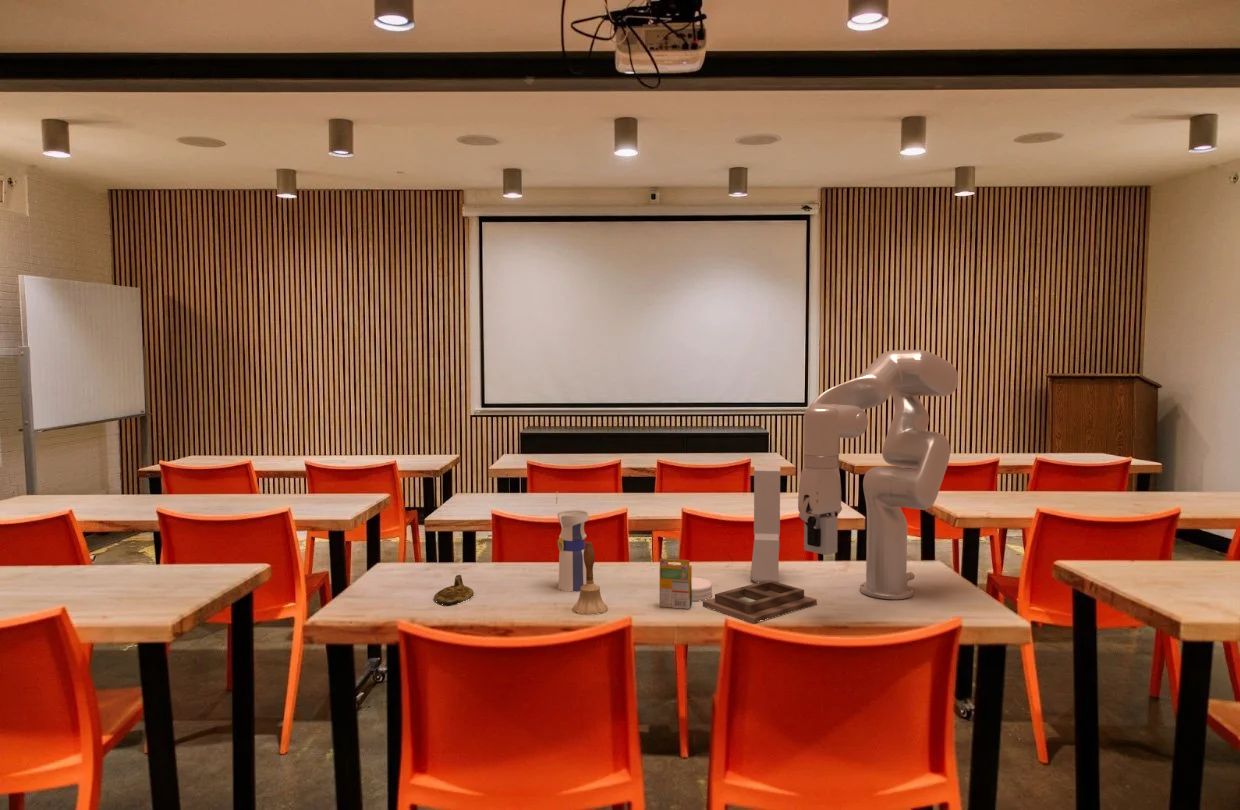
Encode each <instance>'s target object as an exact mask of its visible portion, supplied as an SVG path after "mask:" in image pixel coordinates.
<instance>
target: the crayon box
mask: <svg viewBox="0 0 1240 810" xmlns="http://www.w3.org/2000/svg"><path fill="white" fill-rule="evenodd" d="M674 562H675V563H678V564H673V563H674ZM669 563H670V564H669ZM671 563H672V564H671ZM679 563H680V564H679ZM692 567H693V566H692V565H690V559H676V558H675V559H674V558H673V559H672V558H659V608H671V607H672V608H671V609H673V608H674V609H684V608H685V609H686V610H690V609H691V607H692V606H693V601H692V577H693V576H692V574H693V573H692V569H693V568H692Z"/></svg>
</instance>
